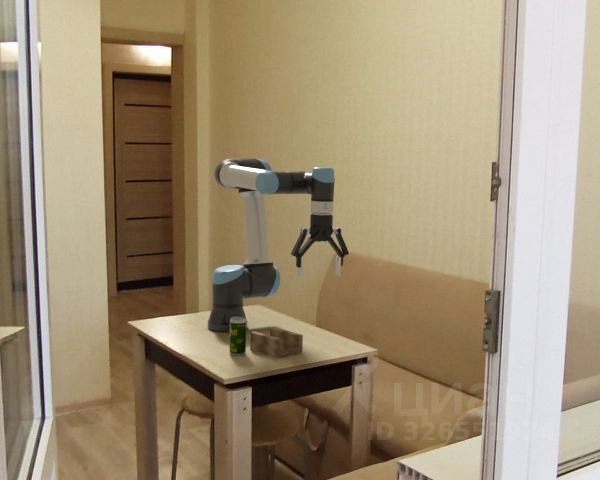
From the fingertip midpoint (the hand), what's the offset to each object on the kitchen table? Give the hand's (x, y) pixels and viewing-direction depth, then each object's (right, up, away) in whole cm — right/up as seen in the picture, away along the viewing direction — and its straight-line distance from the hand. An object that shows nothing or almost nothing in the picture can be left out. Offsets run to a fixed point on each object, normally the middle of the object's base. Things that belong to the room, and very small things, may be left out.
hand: (319, 276), depth 232 cm
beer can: (-27, -26, -4) cm, 38 cm away
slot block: (-15, -25, 0) cm, 29 cm away
